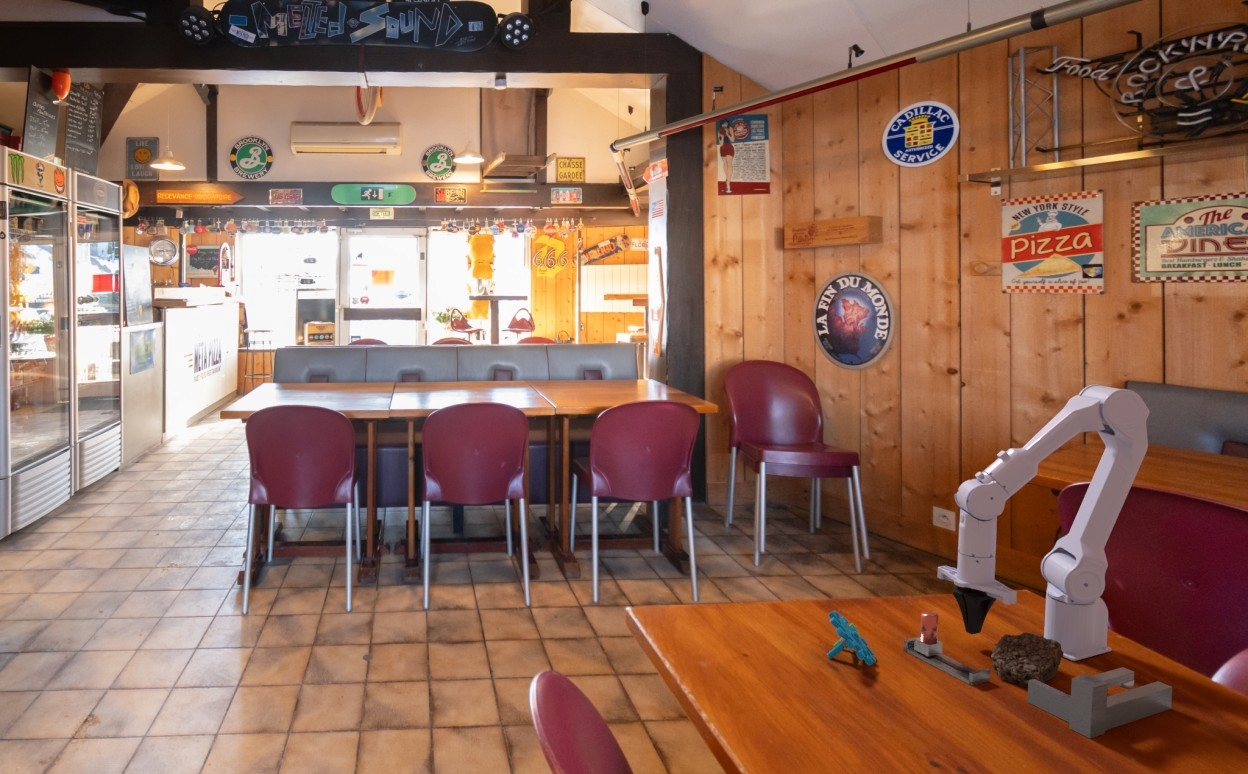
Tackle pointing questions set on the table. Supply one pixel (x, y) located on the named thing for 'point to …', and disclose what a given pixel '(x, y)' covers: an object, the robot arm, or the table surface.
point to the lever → (928, 635)
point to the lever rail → (950, 665)
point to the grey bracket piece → (1101, 701)
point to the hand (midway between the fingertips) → (973, 632)
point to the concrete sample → (1026, 658)
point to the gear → (849, 639)
